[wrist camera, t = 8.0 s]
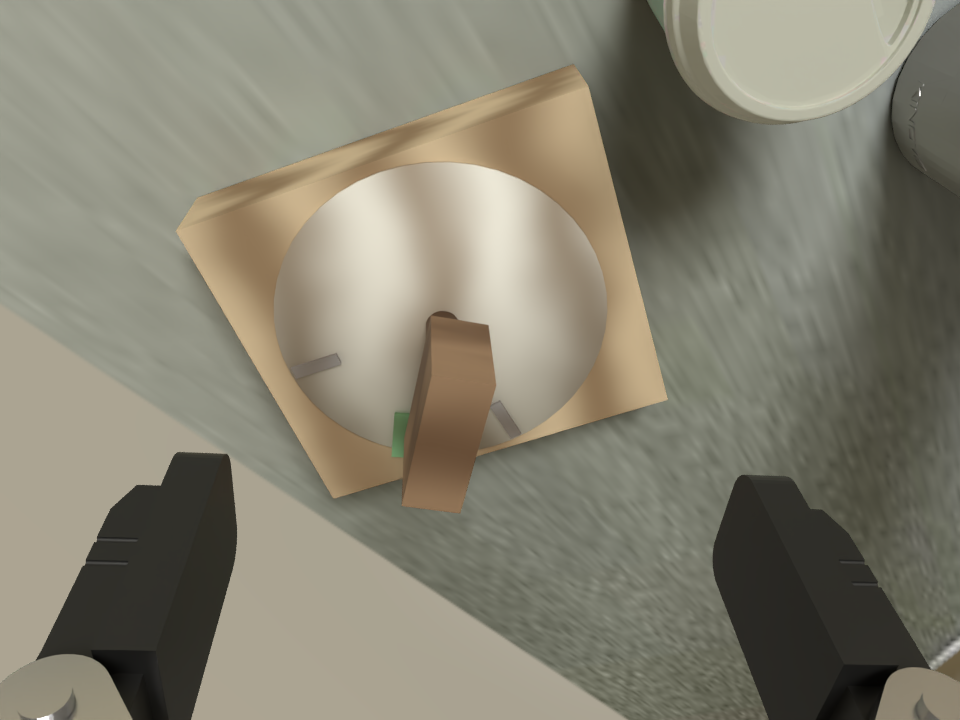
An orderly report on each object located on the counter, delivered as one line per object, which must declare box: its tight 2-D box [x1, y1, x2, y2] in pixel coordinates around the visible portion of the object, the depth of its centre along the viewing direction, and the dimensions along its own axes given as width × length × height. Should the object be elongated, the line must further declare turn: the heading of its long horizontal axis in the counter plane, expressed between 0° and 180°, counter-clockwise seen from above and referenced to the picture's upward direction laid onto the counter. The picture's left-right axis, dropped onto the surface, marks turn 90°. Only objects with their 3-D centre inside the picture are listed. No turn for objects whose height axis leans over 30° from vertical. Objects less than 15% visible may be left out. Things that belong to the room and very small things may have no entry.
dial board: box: [176, 64, 668, 499], centre depth 40 cm, size 19×17×4 cm
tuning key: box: [402, 311, 496, 513], centre depth 36 cm, size 11×2×9 cm, turn 167°
